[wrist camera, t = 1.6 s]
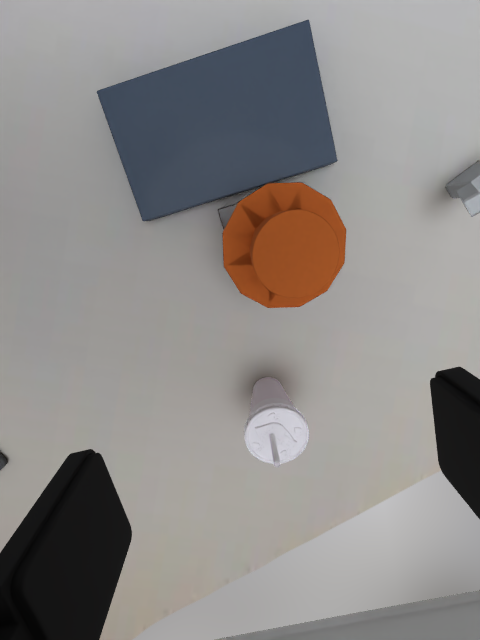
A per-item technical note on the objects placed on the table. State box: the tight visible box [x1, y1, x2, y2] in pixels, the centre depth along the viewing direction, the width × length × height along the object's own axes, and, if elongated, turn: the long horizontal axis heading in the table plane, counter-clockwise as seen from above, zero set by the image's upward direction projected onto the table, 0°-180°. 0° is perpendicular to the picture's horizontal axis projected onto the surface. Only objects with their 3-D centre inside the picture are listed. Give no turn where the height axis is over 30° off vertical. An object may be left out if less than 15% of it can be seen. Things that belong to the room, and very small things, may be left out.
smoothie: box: [244, 377, 309, 467], centre depth 38 cm, size 6×6×14 cm
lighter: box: [446, 161, 480, 217], centre depth 34 cm, size 7×2×8 cm, turn 128°
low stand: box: [97, 20, 337, 221], centre depth 35 cm, size 20×12×2 cm, turn 106°
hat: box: [223, 183, 346, 308], centre depth 26 cm, size 10×10×6 cm
